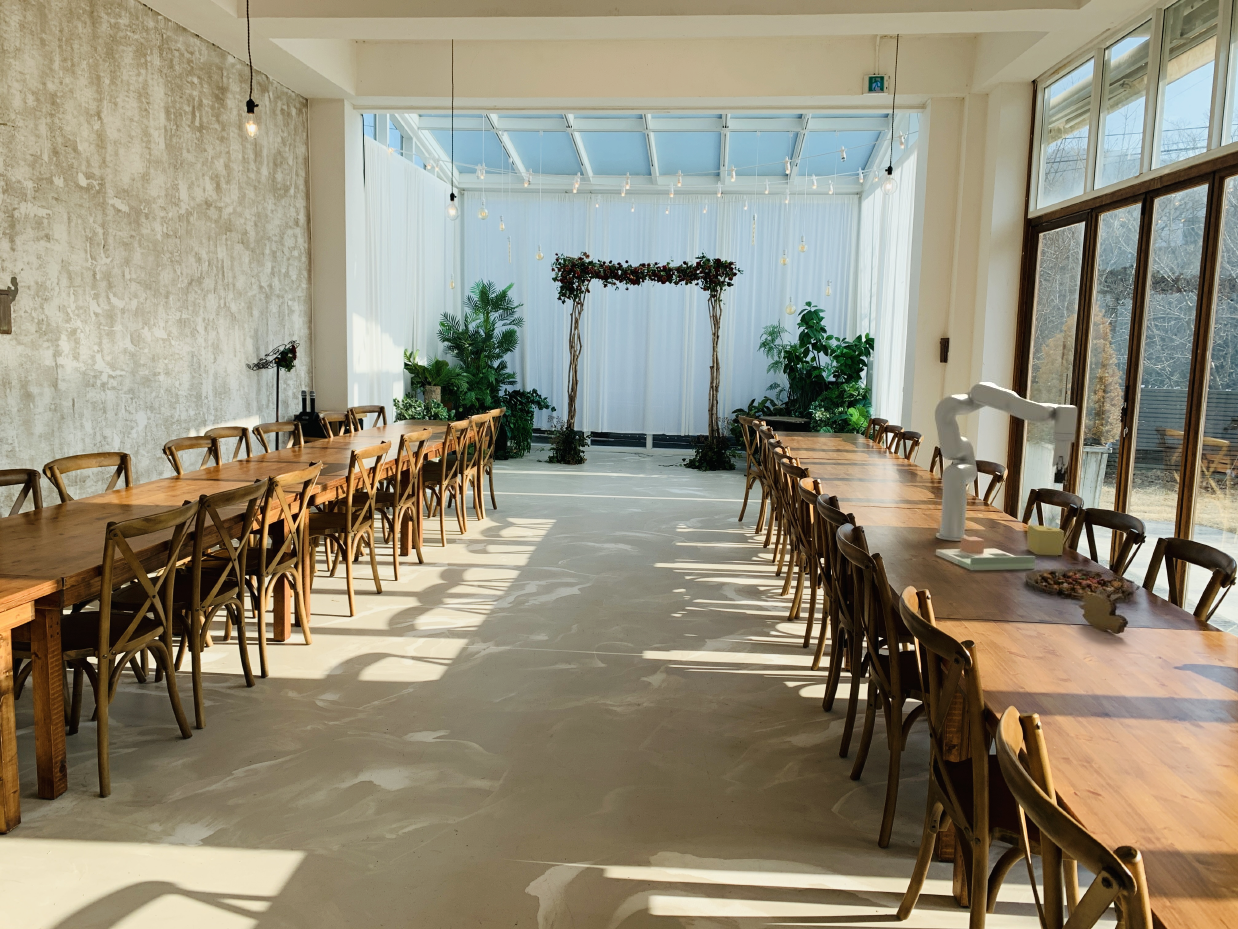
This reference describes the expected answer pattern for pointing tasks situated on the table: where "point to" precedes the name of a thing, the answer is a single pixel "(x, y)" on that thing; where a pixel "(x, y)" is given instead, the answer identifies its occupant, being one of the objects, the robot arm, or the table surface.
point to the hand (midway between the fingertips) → (1059, 481)
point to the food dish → (1078, 584)
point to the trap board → (987, 559)
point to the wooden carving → (1103, 614)
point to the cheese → (1045, 540)
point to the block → (972, 545)
